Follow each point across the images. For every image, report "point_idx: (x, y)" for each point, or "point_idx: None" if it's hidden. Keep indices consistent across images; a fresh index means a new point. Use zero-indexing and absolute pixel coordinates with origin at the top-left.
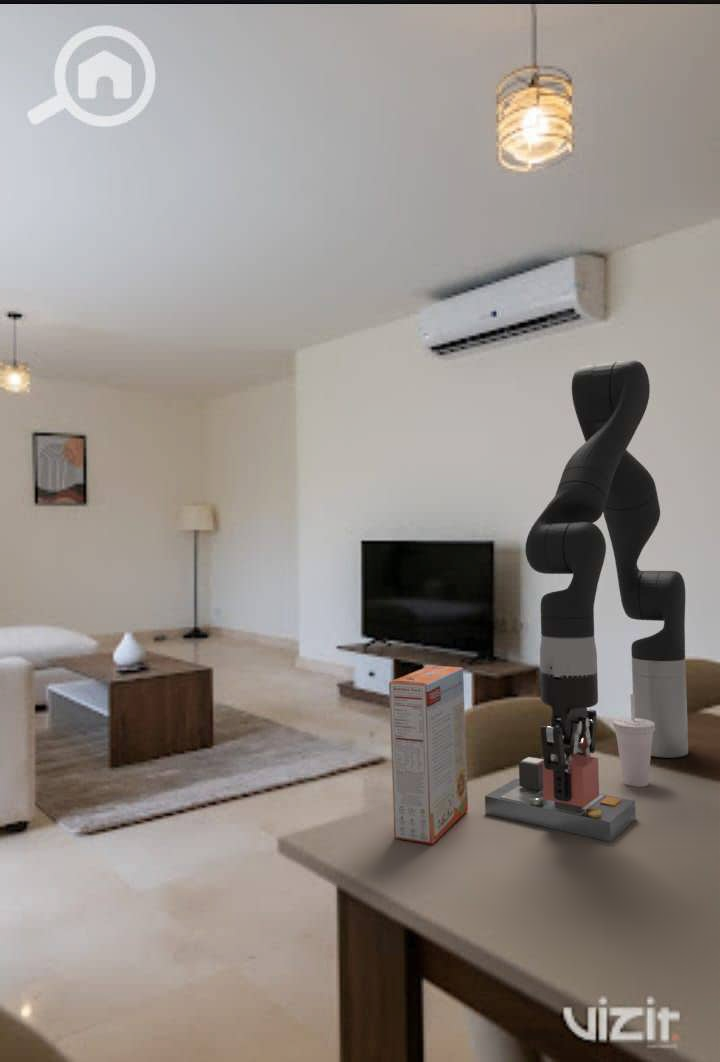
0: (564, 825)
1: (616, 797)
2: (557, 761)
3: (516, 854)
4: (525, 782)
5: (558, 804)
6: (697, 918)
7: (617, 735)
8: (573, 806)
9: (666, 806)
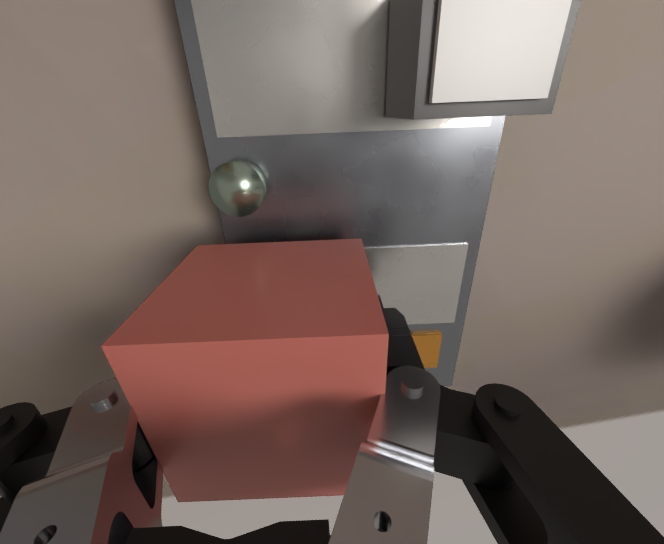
0: None
1: (456, 347)
2: (10, 500)
3: (18, 236)
4: (392, 33)
5: None
6: None
7: None
8: None
9: (555, 371)
